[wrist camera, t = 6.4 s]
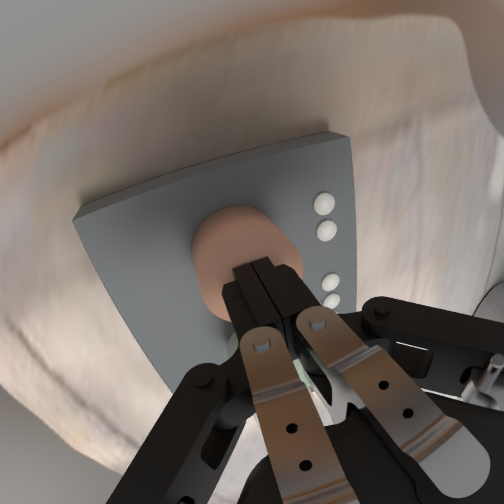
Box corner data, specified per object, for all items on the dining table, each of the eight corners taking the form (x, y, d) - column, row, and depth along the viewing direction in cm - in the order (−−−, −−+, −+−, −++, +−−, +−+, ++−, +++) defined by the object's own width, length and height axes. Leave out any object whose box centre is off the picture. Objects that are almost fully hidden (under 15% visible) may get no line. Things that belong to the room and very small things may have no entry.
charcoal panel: (330, 131, 16) (351, 137, 14) (342, 358, 26) (353, 375, 25) (81, 206, 14) (71, 222, 12) (197, 412, 24) (202, 432, 23)
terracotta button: (270, 194, 14) (297, 218, 12) (284, 270, 17) (307, 302, 14) (179, 222, 14) (186, 254, 11) (206, 297, 16) (217, 335, 13)
